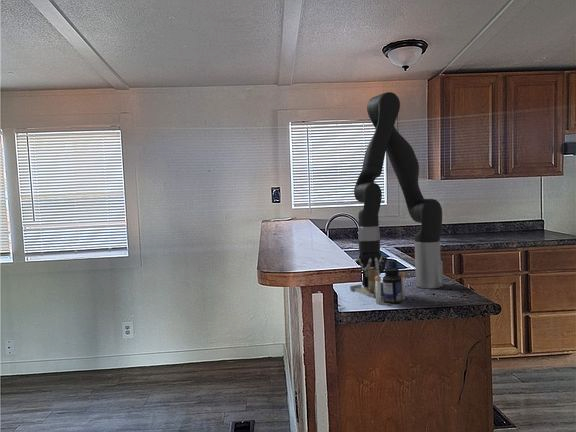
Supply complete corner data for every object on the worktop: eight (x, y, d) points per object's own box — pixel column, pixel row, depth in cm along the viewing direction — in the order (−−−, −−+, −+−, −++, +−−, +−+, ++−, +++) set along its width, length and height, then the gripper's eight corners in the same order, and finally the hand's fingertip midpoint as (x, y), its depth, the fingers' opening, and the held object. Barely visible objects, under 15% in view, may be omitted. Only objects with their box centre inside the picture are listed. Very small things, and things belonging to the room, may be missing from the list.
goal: (403, 298, 155) (402, 271, 154) (407, 299, 153) (406, 272, 152) (374, 303, 150) (373, 275, 149) (378, 304, 148) (377, 276, 147)
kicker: (376, 288, 165) (375, 266, 165) (396, 294, 155) (395, 271, 154) (358, 291, 162) (357, 269, 161) (377, 297, 152) (376, 273, 151)
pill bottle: (399, 299, 154) (398, 267, 153) (404, 303, 148) (403, 270, 147) (381, 300, 153) (380, 268, 153) (386, 304, 147) (385, 271, 147)
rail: (360, 289, 172) (359, 284, 172) (382, 296, 159) (382, 291, 159) (350, 290, 170) (350, 286, 170) (372, 297, 157) (372, 292, 157)
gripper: (379, 236, 167) (380, 282, 168) (346, 239, 161) (348, 287, 162) (391, 237, 160) (393, 285, 161) (358, 241, 154) (360, 291, 155)
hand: (370, 286), depth 161 cm, fingers closed on kicker, 3 cm apart
